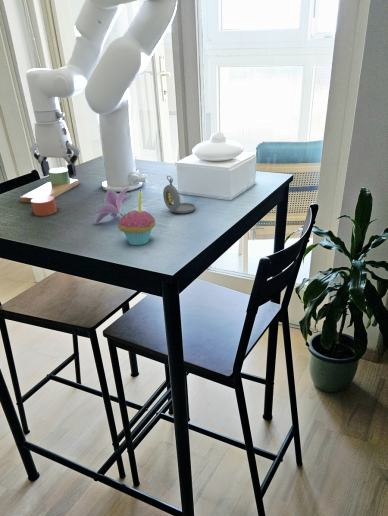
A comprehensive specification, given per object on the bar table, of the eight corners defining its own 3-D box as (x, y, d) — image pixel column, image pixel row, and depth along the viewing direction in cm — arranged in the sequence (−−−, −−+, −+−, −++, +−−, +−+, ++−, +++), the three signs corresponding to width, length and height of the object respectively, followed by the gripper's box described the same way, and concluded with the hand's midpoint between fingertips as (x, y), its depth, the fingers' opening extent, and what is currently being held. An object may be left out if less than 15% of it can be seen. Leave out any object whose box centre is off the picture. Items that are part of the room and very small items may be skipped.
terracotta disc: (61, 208, 136) (58, 196, 134) (48, 216, 131) (45, 203, 129) (42, 207, 138) (39, 194, 135) (28, 214, 133) (25, 202, 131)
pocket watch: (198, 207, 132) (197, 169, 126) (188, 217, 125) (186, 178, 120) (171, 205, 134) (168, 168, 129) (159, 215, 128) (156, 177, 122)
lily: (141, 217, 130) (122, 184, 127) (149, 213, 119) (130, 177, 116) (103, 239, 128) (83, 206, 125) (108, 237, 117) (87, 201, 114)
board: (78, 184, 155) (78, 179, 155) (43, 203, 140) (42, 198, 139) (57, 182, 158) (56, 178, 157) (20, 202, 142) (19, 197, 142)
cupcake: (141, 232, 118) (136, 182, 112) (164, 240, 113) (160, 189, 107) (113, 242, 114) (106, 191, 107) (136, 252, 109) (129, 199, 102)
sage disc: (74, 179, 155) (72, 168, 153) (63, 185, 150) (61, 173, 148) (57, 178, 157) (55, 167, 155) (46, 184, 152) (43, 172, 150)
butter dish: (230, 200, 136) (230, 140, 127) (176, 193, 143) (173, 136, 134) (256, 183, 148) (257, 127, 139) (205, 177, 156) (203, 124, 147)
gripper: (80, 114, 142) (89, 174, 152) (30, 114, 147) (43, 171, 157) (66, 119, 136) (77, 180, 146) (15, 118, 142) (29, 178, 151)
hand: (59, 176), depth 152 cm, fingers open, 9 cm apart
